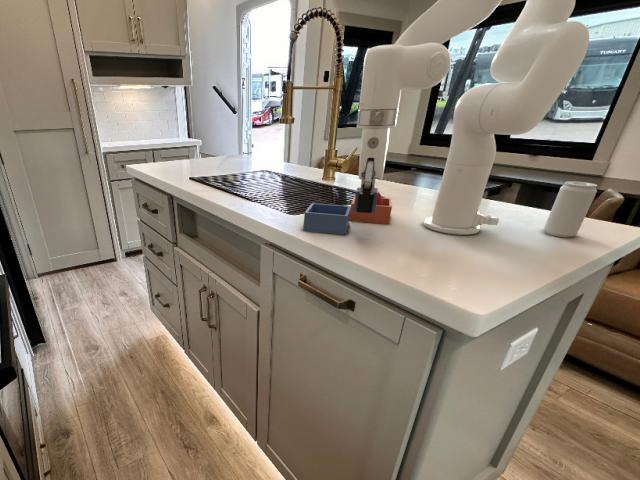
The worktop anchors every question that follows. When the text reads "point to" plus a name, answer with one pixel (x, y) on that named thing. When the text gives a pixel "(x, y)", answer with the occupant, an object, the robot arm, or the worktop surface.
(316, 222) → the blue bin
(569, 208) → the beverage can
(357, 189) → the blue block
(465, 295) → the worktop surface
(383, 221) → the terracotta bin
